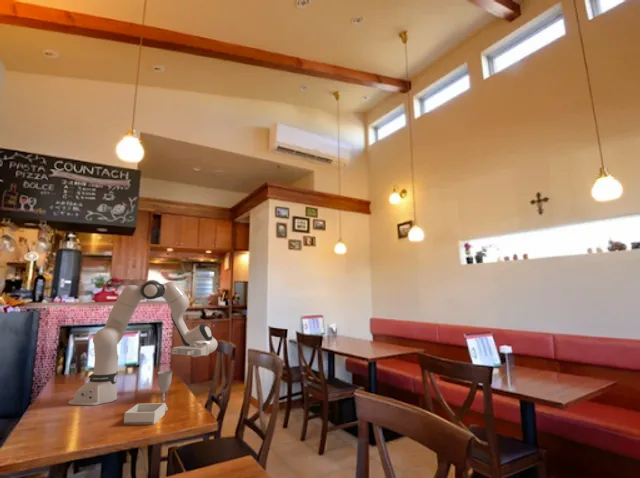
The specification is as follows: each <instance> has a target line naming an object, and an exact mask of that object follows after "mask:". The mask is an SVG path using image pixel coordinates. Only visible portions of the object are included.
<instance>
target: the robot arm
mask: <svg viewBox="0 0 640 478" xmlns="http://www.w3.org/2000/svg"><path fill="white" fill-rule="evenodd" d="M158 298H163V299H164V300H165V302H166V303H167V305H168V306H169V308H170V318H171V320H172V322H173V324H174V326H175V328H176V330H177V332H178V334H179V337H180V339H181V342H182V345H180V346H174V347H172V350H171V355H180V356H181V355H182V356H190V357H192V358H198V357H202V356H203V357H204V356H205V357H207V356H209V354H211V353H213V352H215V351H216V349H217V347H218V340H216V338H215V337H214V336H213V333H212V332H213V331H212V329H211V327H210V326H209V325H208V324H205V323H200V324H198V325H197V326H196V327H194V328H192V329H188V327H187V325H186V322H185V320H184V318H183V317H184V314H185V312H186V311H187V310H188V308H189V305H190V299H189V297H188V296H187V294H186V293H185V292H184V290H183V289H182V288H181V287H180V285H178V283H177V282H175V281H168V282H165V283H164V284H163V283H160V281H158V280H155V279H150V280H149V279H148V280H147V281H145V282H144V283H142V284H141V285H140V286H138V285H134V284H128V285H127V286H125V288H124V289H123V290H122V291H121V293H120V294H119V295H118V297H117V299H116V301H115V302H114V305H113V306H112V308H111V310H110V312H109V313H108V318H107V320H106V323H105V325H104V327H103V328H100V329H98V330H97V332H96V333H95V334H94V336H93V338H92V342H93V350H94V352H93V353H94V363H93V364H94V365H93V373H91V374H90V375H88V376H87V379H89V380H88V381H87V382H86V383H85V384H82V386H80V387H78V389H77V390H76V392H75V394H74V396H73V397H74V398H72V399H70V400H69V401H68V403H67V404H68V405H73V406H74V405H76V406H77V405H78V406H98V405H101V404H108V403H111V402H114V401H117V400H118V399H119V398H118V394H117V393H118V392H117V382H118V376H119V375H118V373H119V372H118V363H119V355H118V344H119V343H120V342H121V341H122V339H123V337H124V335H125V332H126V330H127V328H128V325H129V323H130V320H131V319H132V316H133V315H134V313H135V311H136V310H137V307H138V305H139V303H140V302H141V301H142V300H143V299H145V300H151V301H152V300H155V299H158Z"/></svg>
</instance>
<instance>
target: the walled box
mask: <svg viewBox="0 0 640 478" xmlns="http://www.w3.org/2000/svg"><path fill="white" fill-rule="evenodd" d="M165 405H167V404H166V402H164V403H162V402H161V403H160V402H159V403H158V402H157V403H155V402H154V403H137V404H135V405H134V406H132V407H130V408H129V409H128V410H127V411H125V412H124V415H123V416H124V419H123V425H124V426H128V425H129V426H130V425H132V426H133V425H134V426H135V425H139V426H140V425H155V424H156V423H157V422H158V421H160V420H161V418H162V417H164V416H165V413H166V411H165Z"/></svg>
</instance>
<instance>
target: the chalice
mask: <svg viewBox="0 0 640 478" xmlns="http://www.w3.org/2000/svg"><path fill="white" fill-rule="evenodd" d="M173 373H174V371H173V370H161V371H158V372H157V375H158V376H157V377H158V378H157V385H158V388H159V390H160V392H162V395H161V403H165V401H166V398H165V397H166V395H165V394H166V392H167V391H168V390H169V388H170V386H171V383H172V377H173V376H172V375H173ZM168 410H169V408H168V406H167V404H166V405H165V412H166V411H168Z"/></svg>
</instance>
